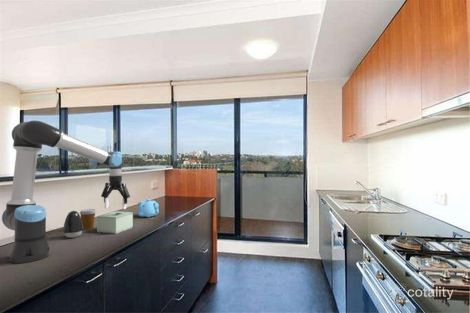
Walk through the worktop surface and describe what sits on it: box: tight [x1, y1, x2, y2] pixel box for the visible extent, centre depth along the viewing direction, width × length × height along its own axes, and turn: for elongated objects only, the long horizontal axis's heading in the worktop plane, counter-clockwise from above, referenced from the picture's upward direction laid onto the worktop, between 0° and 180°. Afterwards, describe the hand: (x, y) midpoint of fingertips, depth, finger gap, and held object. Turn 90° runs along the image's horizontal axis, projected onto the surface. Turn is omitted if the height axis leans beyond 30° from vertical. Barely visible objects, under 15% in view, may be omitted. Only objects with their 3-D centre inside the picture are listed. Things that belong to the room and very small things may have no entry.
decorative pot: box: [136, 198, 160, 218], centre depth 218 cm, size 16×16×14 cm
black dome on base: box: [62, 210, 84, 239], centre depth 161 cm, size 10×10×15 cm
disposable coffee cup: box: [79, 208, 97, 231], centre depth 180 cm, size 10×10×12 cm
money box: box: [96, 210, 134, 235], centre depth 177 cm, size 16×14×10 cm
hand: (115, 208), depth 177 cm, fingers open, 13 cm apart
